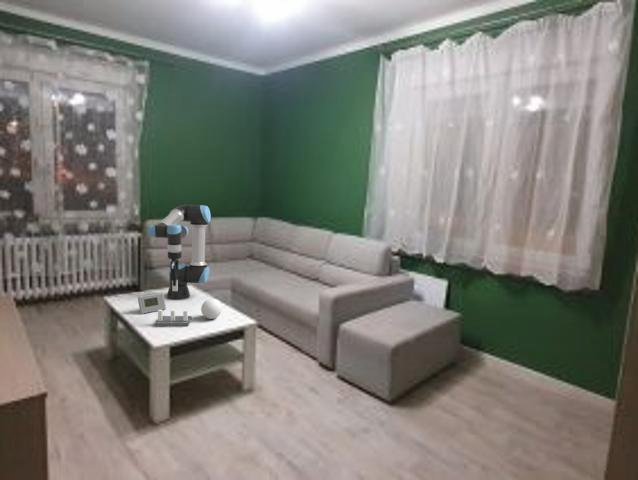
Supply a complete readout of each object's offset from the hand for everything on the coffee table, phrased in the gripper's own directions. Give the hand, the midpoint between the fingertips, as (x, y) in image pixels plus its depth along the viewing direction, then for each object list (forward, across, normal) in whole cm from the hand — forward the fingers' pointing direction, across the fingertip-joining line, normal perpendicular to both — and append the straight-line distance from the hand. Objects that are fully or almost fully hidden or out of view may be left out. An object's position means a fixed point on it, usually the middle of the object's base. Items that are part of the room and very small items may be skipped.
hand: (175, 290), depth 244 cm
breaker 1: (+16, +7, -7) cm, 19 cm away
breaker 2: (+16, +7, +7) cm, 19 cm away
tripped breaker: (+16, +7, 0) cm, 17 cm away
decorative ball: (+19, -3, +21) cm, 28 cm away
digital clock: (+19, -16, -17) cm, 30 cm away
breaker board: (+18, +4, 0) cm, 19 cm away
